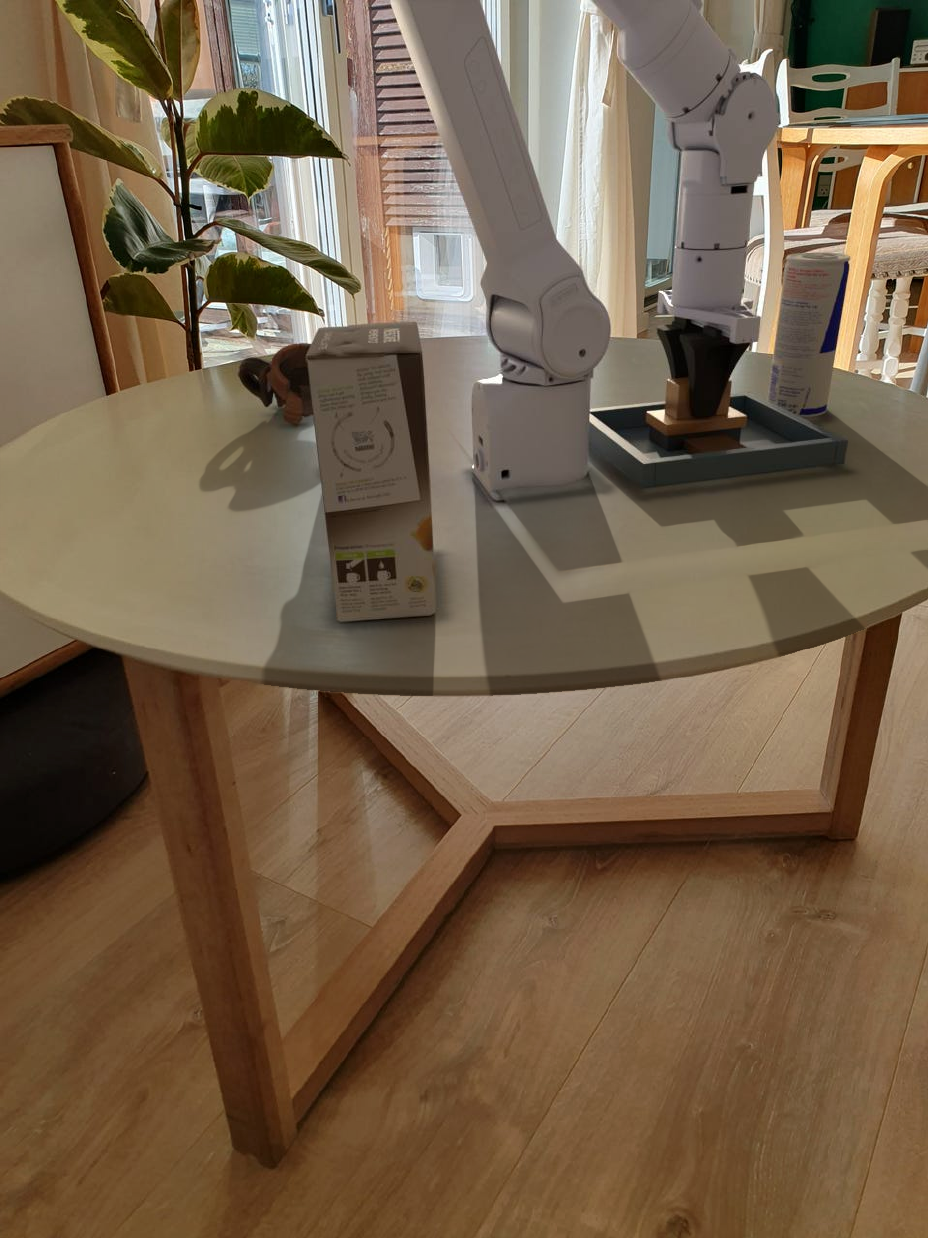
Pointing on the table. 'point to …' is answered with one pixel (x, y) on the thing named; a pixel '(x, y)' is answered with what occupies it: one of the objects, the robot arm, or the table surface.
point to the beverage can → (808, 331)
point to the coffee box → (374, 468)
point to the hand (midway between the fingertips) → (695, 410)
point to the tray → (767, 434)
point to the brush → (691, 418)
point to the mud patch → (710, 444)
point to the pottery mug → (281, 381)
